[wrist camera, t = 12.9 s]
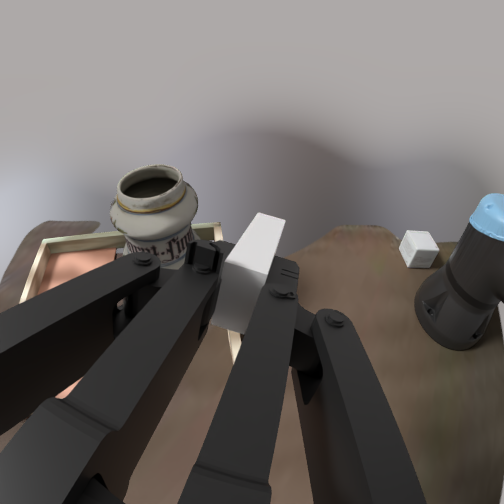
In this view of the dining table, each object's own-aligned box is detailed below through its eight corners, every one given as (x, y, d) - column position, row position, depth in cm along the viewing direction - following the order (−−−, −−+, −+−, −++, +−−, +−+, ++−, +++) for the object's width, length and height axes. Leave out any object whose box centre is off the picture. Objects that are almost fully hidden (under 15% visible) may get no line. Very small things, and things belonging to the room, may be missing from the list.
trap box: (252, 414, 33) (253, 407, 31) (8, 411, 27) (-4, 403, 25) (220, 235, 56) (220, 222, 54) (48, 250, 50) (43, 239, 48)
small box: (419, 248, 57) (428, 230, 54) (430, 268, 53) (440, 250, 50) (397, 247, 57) (406, 229, 53) (407, 268, 53) (417, 249, 49)
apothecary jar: (117, 289, 45) (84, 194, 33) (157, 243, 54) (143, 151, 41) (180, 319, 42) (161, 218, 30) (217, 264, 51) (216, 166, 38)
